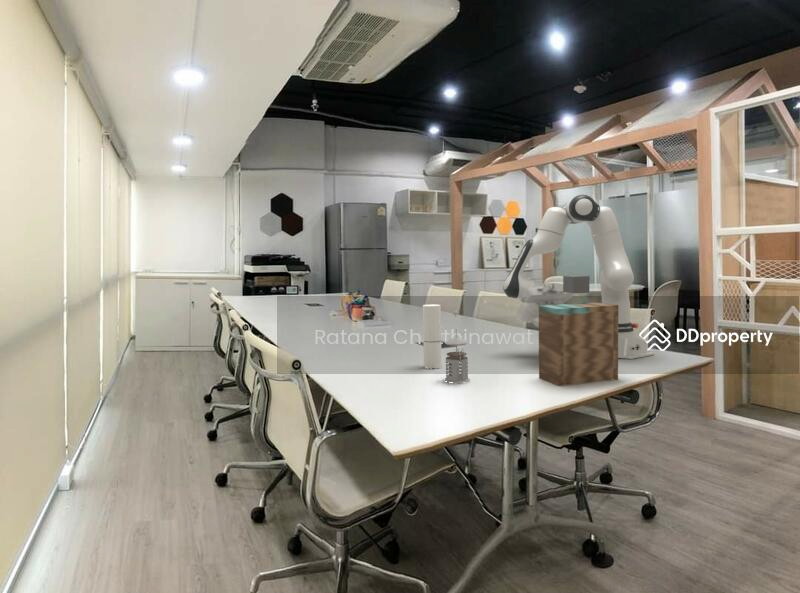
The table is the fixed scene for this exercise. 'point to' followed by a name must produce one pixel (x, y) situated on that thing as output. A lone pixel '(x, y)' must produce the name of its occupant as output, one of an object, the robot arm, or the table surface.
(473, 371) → the table surface
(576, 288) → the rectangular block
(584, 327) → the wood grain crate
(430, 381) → the table surface
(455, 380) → the french press
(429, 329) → the cylindrical container
